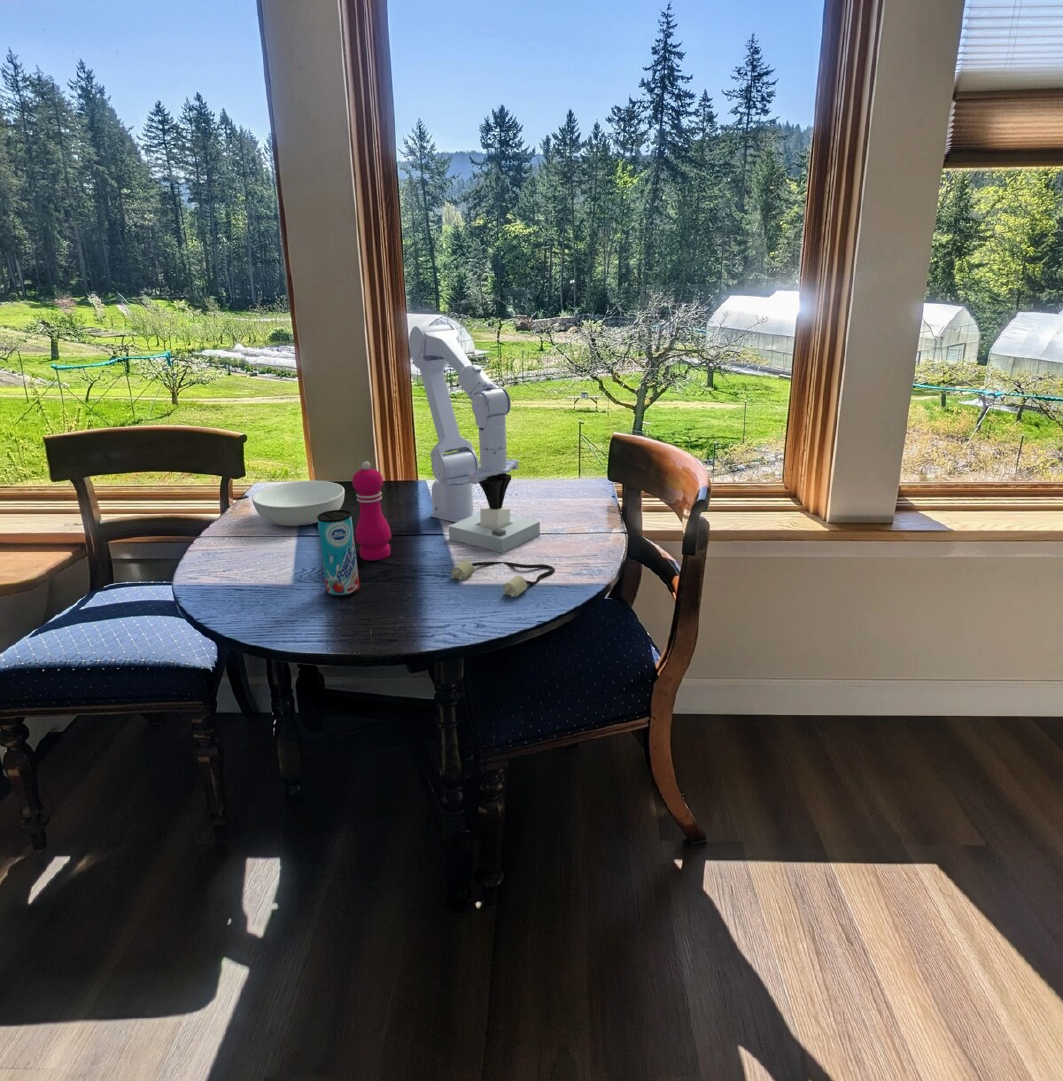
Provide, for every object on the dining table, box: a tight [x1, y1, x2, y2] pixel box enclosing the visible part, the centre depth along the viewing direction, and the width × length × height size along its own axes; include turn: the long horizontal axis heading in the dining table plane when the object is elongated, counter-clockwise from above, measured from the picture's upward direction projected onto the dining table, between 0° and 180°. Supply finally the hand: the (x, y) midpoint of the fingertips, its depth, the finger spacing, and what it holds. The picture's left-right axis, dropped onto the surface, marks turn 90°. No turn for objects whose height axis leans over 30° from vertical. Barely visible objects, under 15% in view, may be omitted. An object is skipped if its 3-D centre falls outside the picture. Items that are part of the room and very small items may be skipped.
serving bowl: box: [251, 480, 346, 527], centre depth 178 cm, size 21×21×7 cm
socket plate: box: [448, 513, 541, 554], centre depth 164 cm, size 15×13×4 cm
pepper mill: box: [352, 460, 392, 561], centre depth 153 cm, size 7×7×20 cm
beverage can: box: [317, 509, 360, 598], centre depth 137 cm, size 6×6×15 cm
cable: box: [450, 559, 556, 598], centre depth 144 cm, size 16×16×4 cm
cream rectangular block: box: [479, 506, 511, 529], centre depth 164 cm, size 5×4×6 cm
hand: (495, 508), depth 164 cm, fingers closed
